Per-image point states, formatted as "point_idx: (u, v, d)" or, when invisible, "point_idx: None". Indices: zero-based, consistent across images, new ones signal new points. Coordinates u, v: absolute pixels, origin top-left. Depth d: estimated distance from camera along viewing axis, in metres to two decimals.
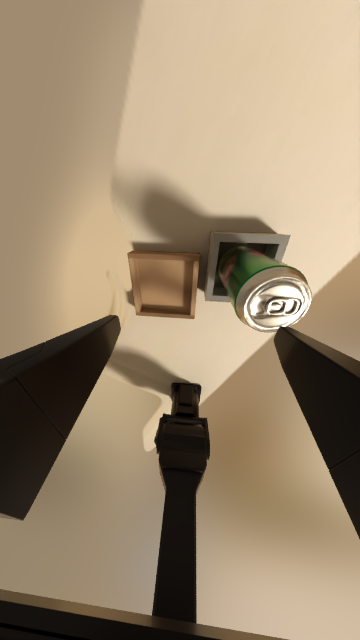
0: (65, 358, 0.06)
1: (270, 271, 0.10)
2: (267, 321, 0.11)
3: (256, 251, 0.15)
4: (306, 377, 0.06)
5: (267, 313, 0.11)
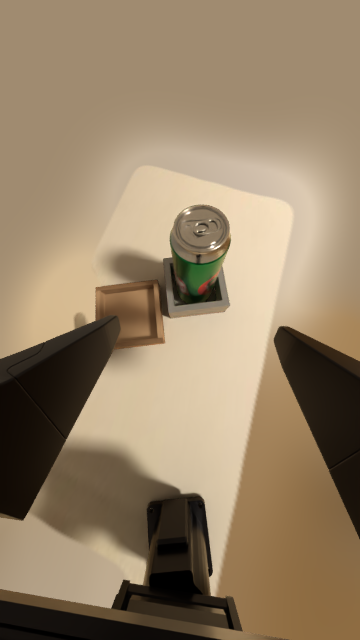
0: (65, 358, 0.06)
1: None
2: (200, 240, 0.12)
3: None
4: (306, 377, 0.06)
5: (197, 235, 0.12)
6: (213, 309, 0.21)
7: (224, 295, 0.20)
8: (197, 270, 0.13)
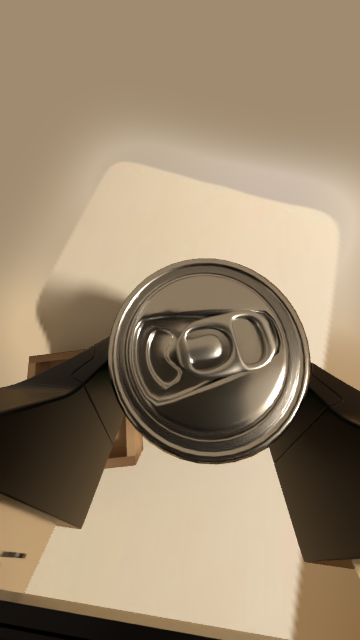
0: None
1: None
2: (205, 409, 0.03)
3: None
4: None
5: (193, 376, 0.03)
6: None
7: None
8: None
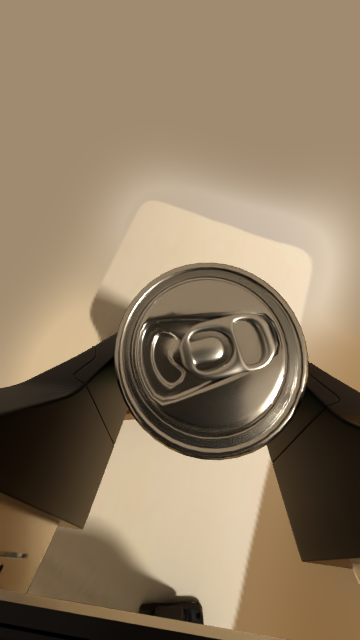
0: None
1: None
2: (207, 408, 0.03)
3: None
4: None
5: (196, 377, 0.03)
6: None
7: None
8: None
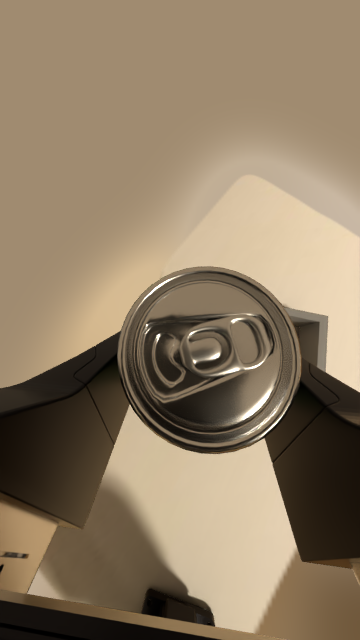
0: None
1: None
2: (206, 404, 0.03)
3: None
4: None
5: (196, 375, 0.04)
6: None
7: None
8: None
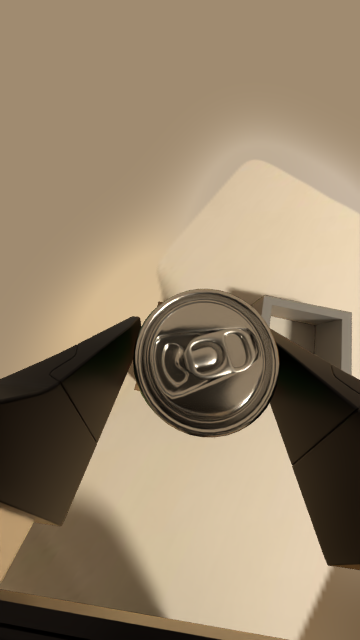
0: (99, 361, 0.06)
1: None
2: (206, 400, 0.04)
3: None
4: None
5: (197, 377, 0.05)
6: None
7: None
8: None
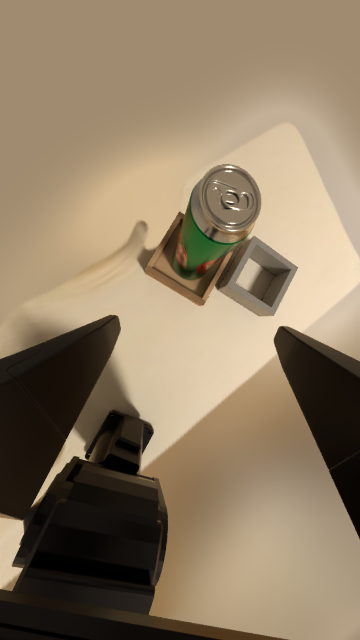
0: (65, 358, 0.06)
1: None
2: (226, 214, 0.10)
3: None
4: (306, 377, 0.06)
5: (224, 206, 0.10)
6: (257, 309, 0.22)
7: (275, 305, 0.21)
8: (208, 247, 0.12)
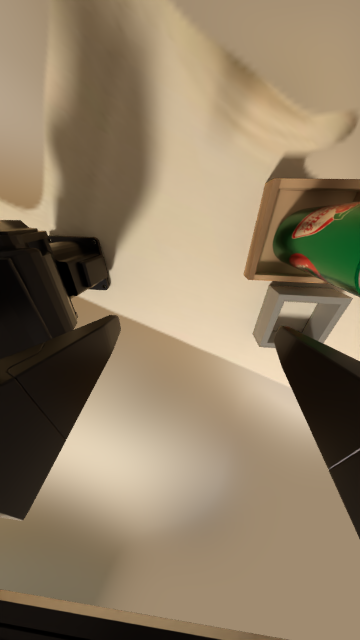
0: (65, 358, 0.06)
1: None
2: None
3: None
4: (306, 377, 0.06)
5: None
6: (261, 331, 0.22)
7: (270, 345, 0.22)
8: (344, 260, 0.09)
